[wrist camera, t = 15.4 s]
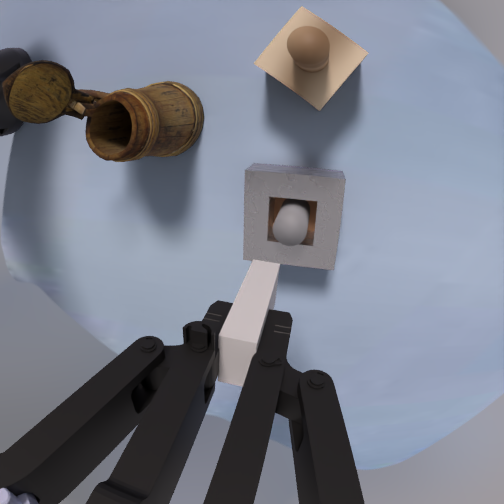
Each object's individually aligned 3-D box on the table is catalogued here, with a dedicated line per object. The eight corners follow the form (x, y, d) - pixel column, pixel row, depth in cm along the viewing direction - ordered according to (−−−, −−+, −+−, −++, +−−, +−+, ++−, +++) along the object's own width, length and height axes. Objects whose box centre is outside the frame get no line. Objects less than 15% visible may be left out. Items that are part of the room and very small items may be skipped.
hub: (252, 207, 36) (233, 233, 29) (291, 158, 33) (282, 172, 26) (301, 246, 37) (295, 281, 30) (343, 201, 34) (348, 226, 27)
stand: (265, 71, 30) (239, 54, 20) (305, 23, 26) (296, -14, 17) (319, 111, 30) (318, 110, 21) (360, 62, 27) (377, 41, 17)
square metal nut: (251, 243, 36) (243, 259, 32) (254, 163, 32) (244, 170, 29) (333, 253, 34) (333, 270, 31) (343, 171, 30) (345, 179, 27)
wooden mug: (137, 48, 31) (22, 32, 15) (219, 112, 32) (125, 121, 17) (100, 106, 35) (-14, 125, 19) (173, 171, 36) (71, 224, 21)
